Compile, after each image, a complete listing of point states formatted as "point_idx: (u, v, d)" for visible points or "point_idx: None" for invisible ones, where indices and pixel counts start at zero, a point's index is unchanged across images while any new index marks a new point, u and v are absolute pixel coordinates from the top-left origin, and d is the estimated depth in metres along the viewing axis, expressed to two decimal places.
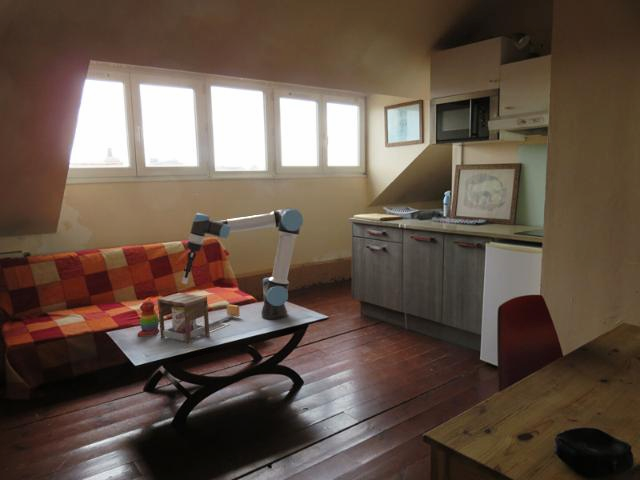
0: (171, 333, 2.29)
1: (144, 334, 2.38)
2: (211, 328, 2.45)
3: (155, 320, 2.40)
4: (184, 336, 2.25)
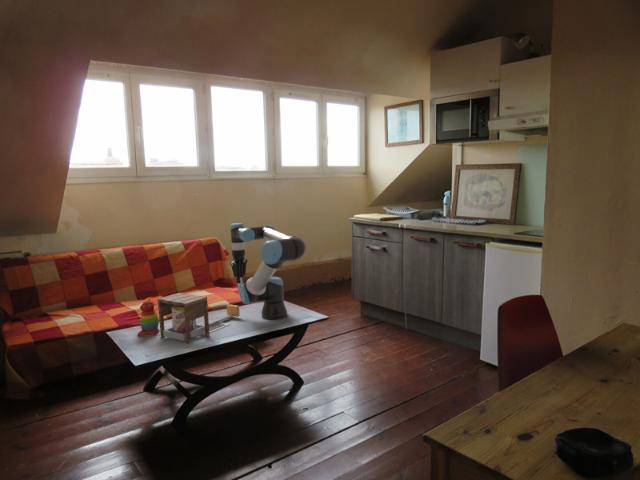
0: (171, 333, 2.29)
1: (144, 334, 2.38)
2: (211, 328, 2.45)
3: (155, 320, 2.40)
4: (184, 336, 2.25)
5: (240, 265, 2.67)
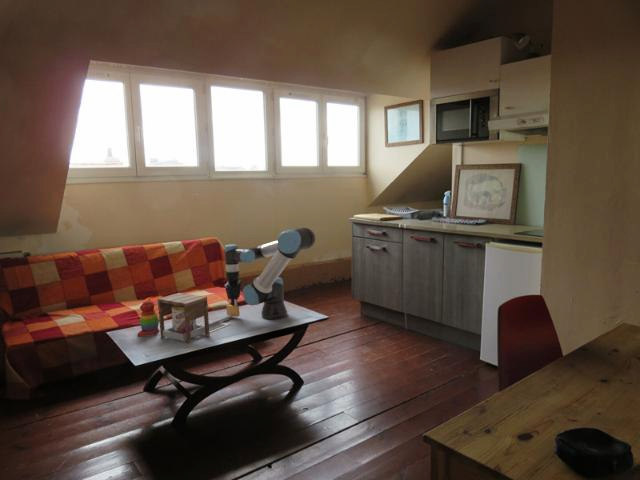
0: (171, 333, 2.29)
1: (144, 334, 2.38)
2: (211, 328, 2.45)
3: (155, 320, 2.40)
4: (184, 336, 2.25)
5: (234, 287, 2.64)
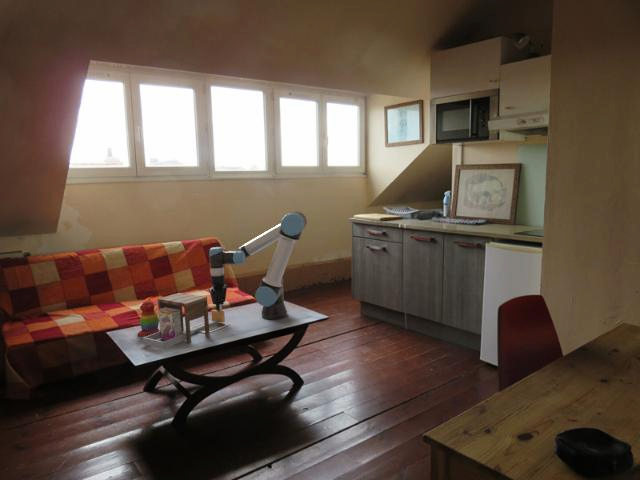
0: (151, 341, 2.19)
1: (144, 334, 2.38)
2: (211, 328, 2.45)
3: (155, 320, 2.40)
4: (164, 344, 2.15)
5: (219, 291, 2.53)
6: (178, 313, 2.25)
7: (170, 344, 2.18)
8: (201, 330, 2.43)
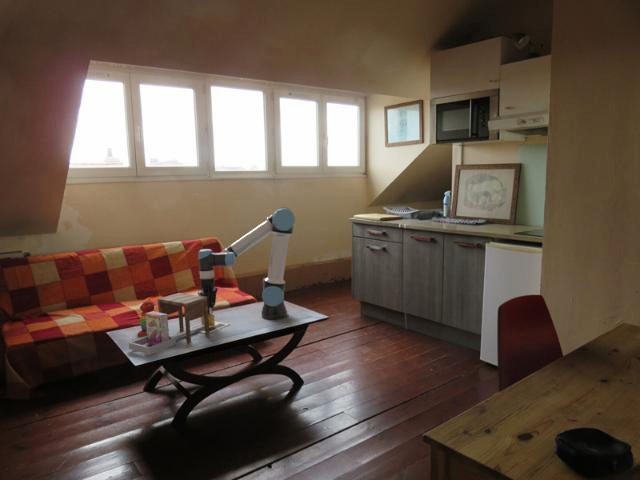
0: (137, 346, 2.12)
1: (144, 334, 2.38)
2: (211, 328, 2.45)
3: None
4: (150, 349, 2.08)
5: (209, 295, 2.47)
6: (165, 317, 2.19)
7: (157, 349, 2.11)
8: (201, 330, 2.43)
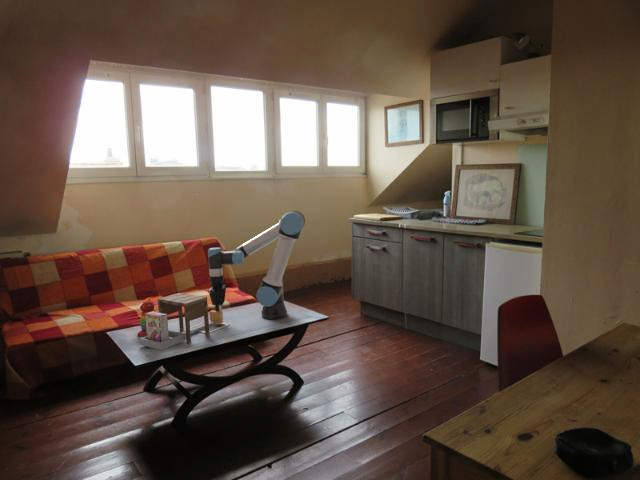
0: (148, 341, 2.18)
1: (144, 334, 2.38)
2: (211, 328, 2.45)
3: None
4: (161, 345, 2.14)
5: (218, 292, 2.52)
6: (165, 317, 2.18)
7: (168, 345, 2.17)
8: (201, 330, 2.43)
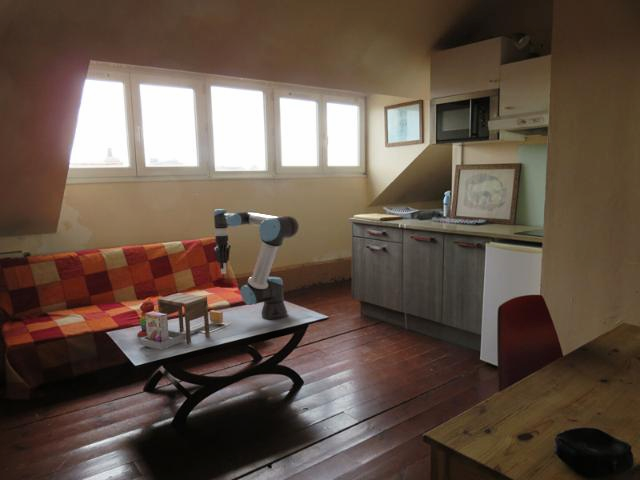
0: (148, 341, 2.18)
1: (144, 334, 2.38)
2: (211, 328, 2.45)
3: None
4: (161, 345, 2.14)
5: (223, 251, 2.71)
6: (165, 317, 2.18)
7: (168, 345, 2.17)
8: (201, 330, 2.43)
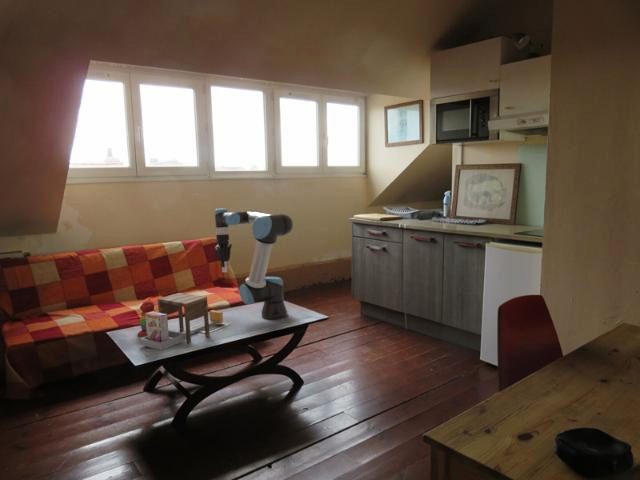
0: (148, 341, 2.18)
1: (144, 334, 2.38)
2: (211, 328, 2.45)
3: None
4: (161, 345, 2.14)
5: (224, 249, 2.75)
6: (165, 317, 2.18)
7: (168, 345, 2.17)
8: (201, 330, 2.43)
